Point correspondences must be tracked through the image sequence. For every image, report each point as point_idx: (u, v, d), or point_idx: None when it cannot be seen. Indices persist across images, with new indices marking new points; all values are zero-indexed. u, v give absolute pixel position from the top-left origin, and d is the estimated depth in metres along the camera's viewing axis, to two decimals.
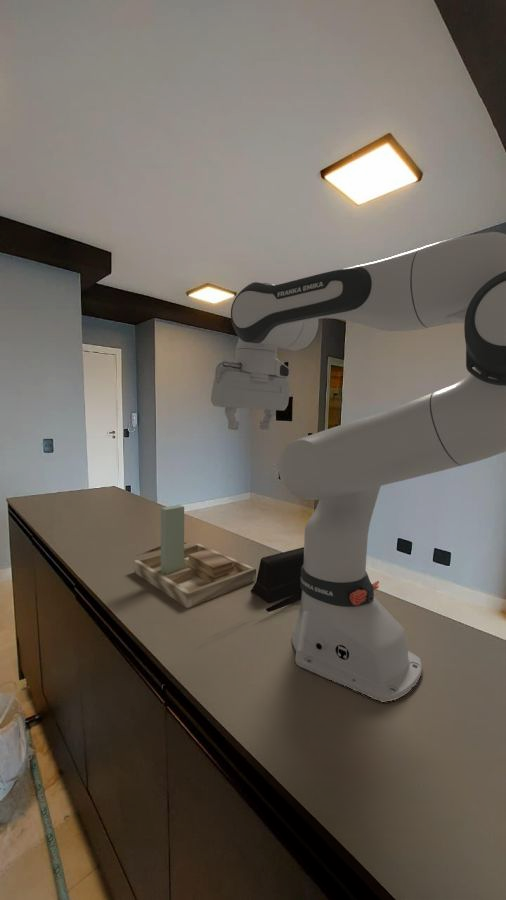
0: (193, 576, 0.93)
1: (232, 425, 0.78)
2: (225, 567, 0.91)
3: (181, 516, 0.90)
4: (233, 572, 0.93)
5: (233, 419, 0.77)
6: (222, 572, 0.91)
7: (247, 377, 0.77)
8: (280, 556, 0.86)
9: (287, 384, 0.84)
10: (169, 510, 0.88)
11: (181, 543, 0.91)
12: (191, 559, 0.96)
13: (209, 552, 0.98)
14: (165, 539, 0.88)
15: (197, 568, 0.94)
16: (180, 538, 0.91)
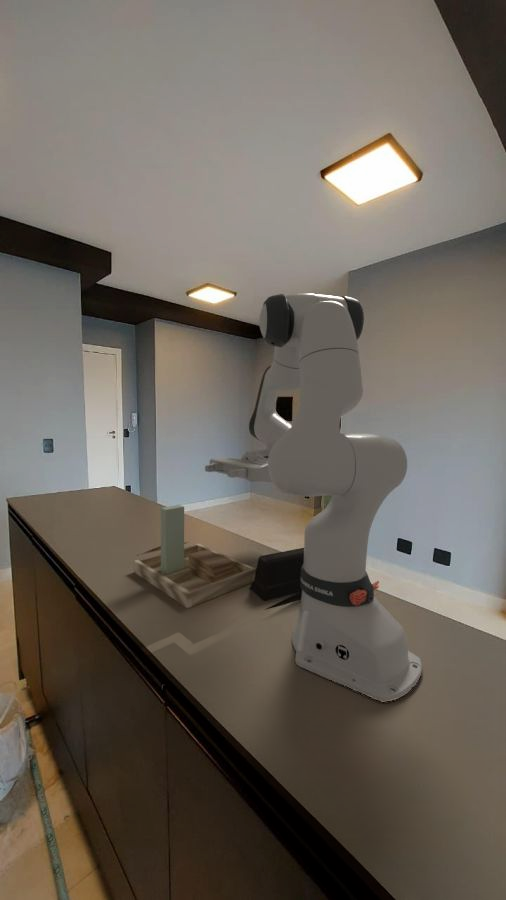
0: (193, 576, 0.93)
1: None
2: (225, 567, 0.91)
3: (181, 516, 0.90)
4: (233, 572, 0.93)
5: (211, 464, 1.04)
6: (222, 572, 0.91)
7: (239, 459, 1.09)
8: (278, 555, 0.86)
9: (268, 462, 1.00)
10: (169, 510, 0.88)
11: (181, 543, 0.91)
12: (191, 559, 0.96)
13: (209, 552, 0.98)
14: (165, 539, 0.88)
15: (197, 568, 0.94)
16: (180, 538, 0.91)
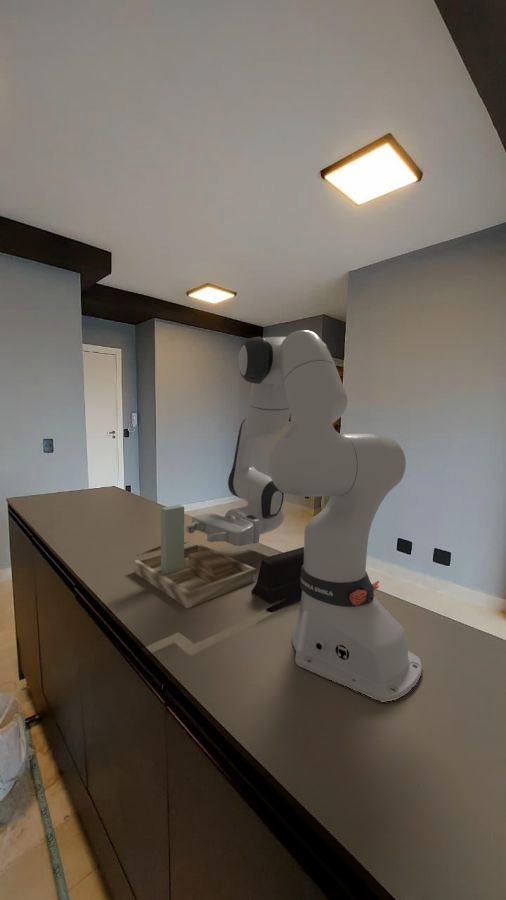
0: (193, 576, 0.93)
1: None
2: (225, 567, 0.91)
3: (181, 516, 0.90)
4: (233, 572, 0.93)
5: (192, 524, 1.01)
6: (222, 572, 0.91)
7: (222, 517, 1.05)
8: (281, 556, 0.86)
9: (250, 524, 0.97)
10: (169, 510, 0.88)
11: (181, 543, 0.91)
12: (191, 559, 0.96)
13: (209, 552, 0.98)
14: (165, 539, 0.88)
15: (197, 568, 0.94)
16: (180, 538, 0.91)
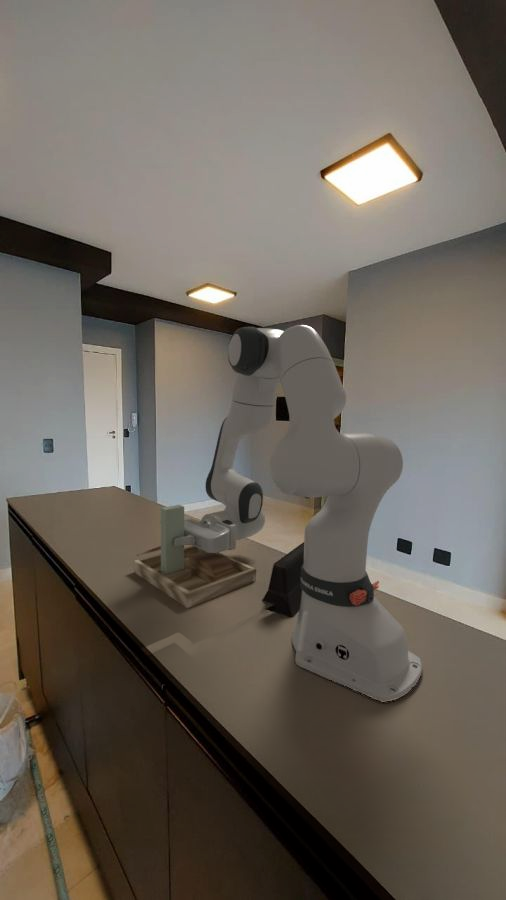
0: (193, 576, 0.93)
1: None
2: (225, 567, 0.91)
3: (181, 516, 0.90)
4: (233, 572, 0.93)
5: None
6: (222, 572, 0.91)
7: (198, 521, 1.00)
8: (288, 559, 0.84)
9: (225, 529, 0.91)
10: (169, 510, 0.88)
11: None
12: (191, 559, 0.96)
13: None
14: (165, 539, 0.88)
15: (197, 568, 0.94)
16: None
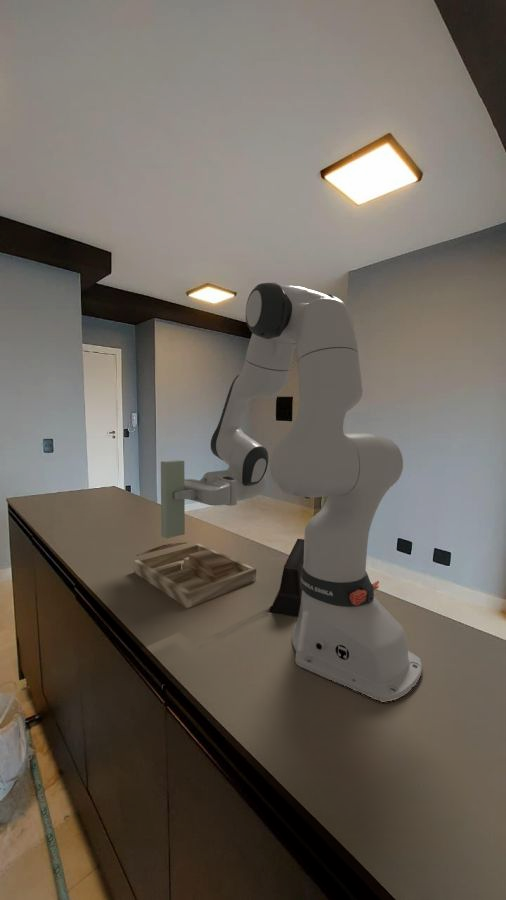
0: (193, 576, 0.93)
1: None
2: (225, 567, 0.91)
3: (181, 470, 0.89)
4: (233, 572, 0.93)
5: None
6: (222, 572, 0.91)
7: (198, 480, 0.99)
8: (294, 560, 0.84)
9: (226, 483, 0.90)
10: (169, 463, 0.87)
11: None
12: (191, 559, 0.96)
13: (209, 552, 0.98)
14: (165, 492, 0.87)
15: (197, 568, 0.94)
16: None
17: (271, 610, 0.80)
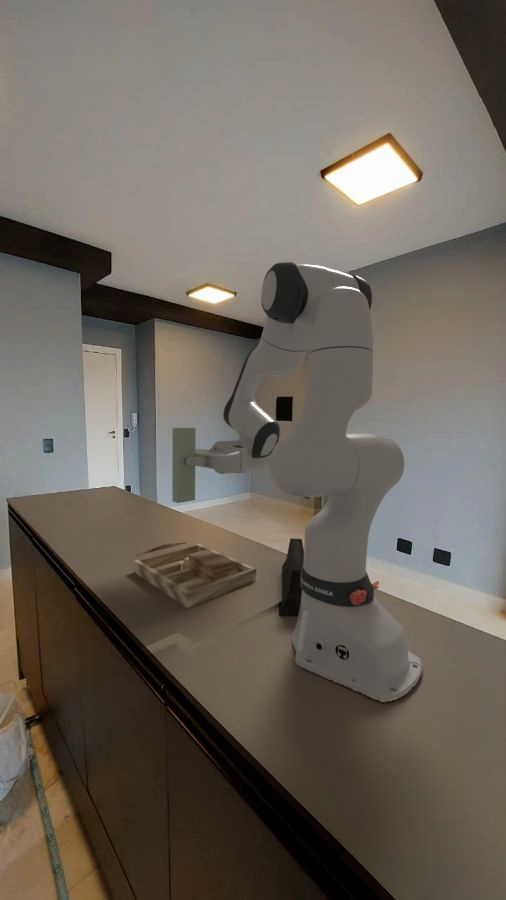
0: (193, 576, 0.93)
1: None
2: (225, 567, 0.91)
3: (192, 436, 0.91)
4: (233, 572, 0.93)
5: None
6: (222, 572, 0.91)
7: None
8: (299, 560, 0.83)
9: (236, 451, 0.92)
10: (181, 429, 0.88)
11: None
12: (191, 559, 0.96)
13: (209, 552, 0.98)
14: (177, 458, 0.88)
15: (197, 568, 0.94)
16: None
17: (281, 613, 0.79)
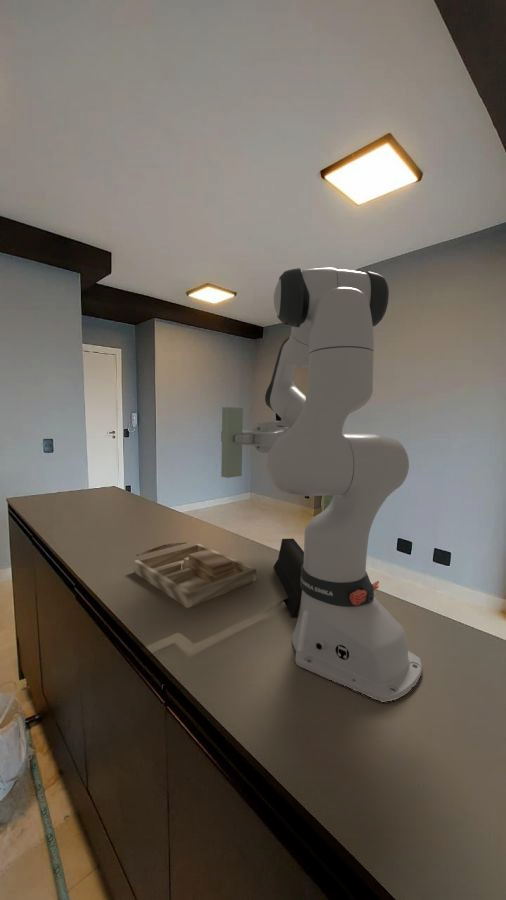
0: (193, 576, 0.93)
1: None
2: (225, 567, 0.91)
3: (240, 416, 0.97)
4: (233, 572, 0.93)
5: None
6: (222, 572, 0.91)
7: None
8: None
9: (281, 429, 0.98)
10: (230, 408, 0.95)
11: (240, 442, 0.98)
12: (191, 559, 0.96)
13: (209, 552, 0.98)
14: (227, 435, 0.95)
15: (197, 568, 0.94)
16: None
17: (294, 615, 0.78)
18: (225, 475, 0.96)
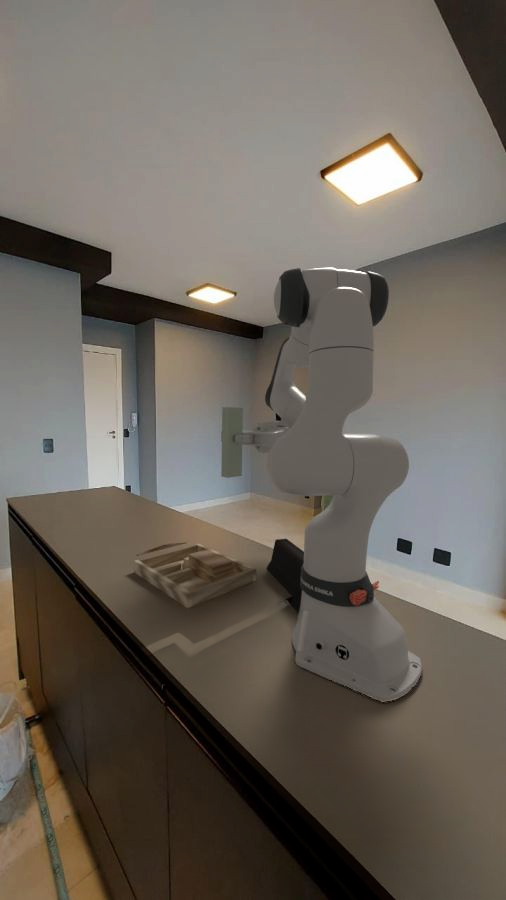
0: (193, 576, 0.93)
1: None
2: (225, 567, 0.91)
3: (240, 416, 0.97)
4: (233, 572, 0.93)
5: None
6: (222, 572, 0.91)
7: (251, 430, 1.07)
8: None
9: (281, 429, 0.98)
10: (231, 408, 0.95)
11: (240, 442, 0.98)
12: (191, 559, 0.96)
13: (209, 552, 0.98)
14: (227, 435, 0.95)
15: (197, 568, 0.94)
16: None
17: None
18: (225, 475, 0.96)
